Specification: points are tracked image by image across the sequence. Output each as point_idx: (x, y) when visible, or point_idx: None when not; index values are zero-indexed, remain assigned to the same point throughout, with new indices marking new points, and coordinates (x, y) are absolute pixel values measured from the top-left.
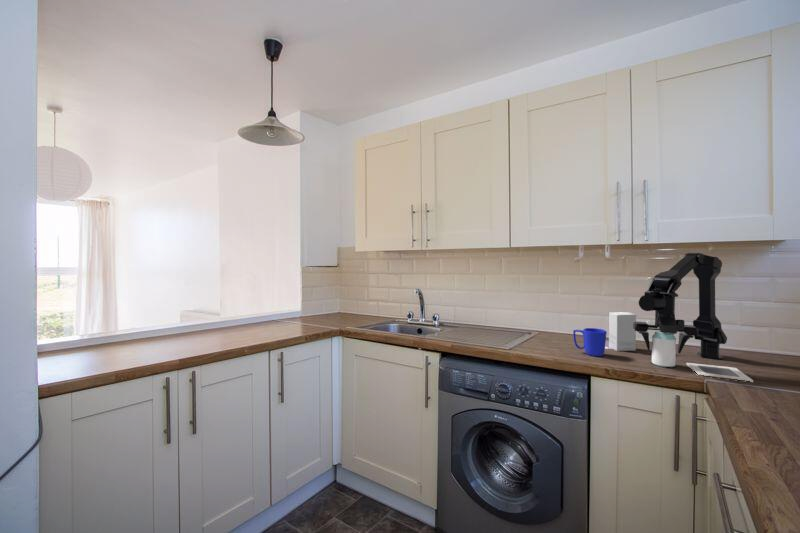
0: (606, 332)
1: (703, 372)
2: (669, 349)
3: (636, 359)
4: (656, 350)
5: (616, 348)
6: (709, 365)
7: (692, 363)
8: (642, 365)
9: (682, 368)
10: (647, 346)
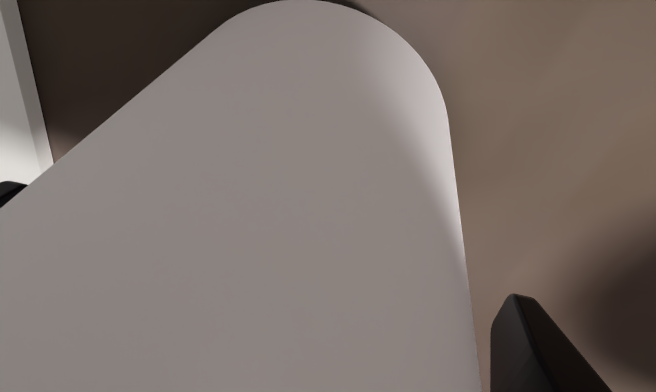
0: None
1: None
2: (159, 123)
3: (531, 295)
4: (444, 206)
5: None
6: None
7: None
8: (638, 54)
9: (117, 34)
10: (583, 361)
